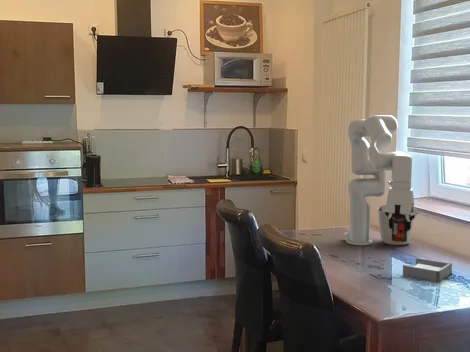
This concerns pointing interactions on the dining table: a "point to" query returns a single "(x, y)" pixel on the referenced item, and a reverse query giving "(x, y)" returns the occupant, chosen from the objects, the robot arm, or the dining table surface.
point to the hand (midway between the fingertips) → (399, 229)
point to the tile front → (434, 268)
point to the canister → (387, 232)
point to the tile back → (422, 266)
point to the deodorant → (398, 226)
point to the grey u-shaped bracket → (428, 270)
